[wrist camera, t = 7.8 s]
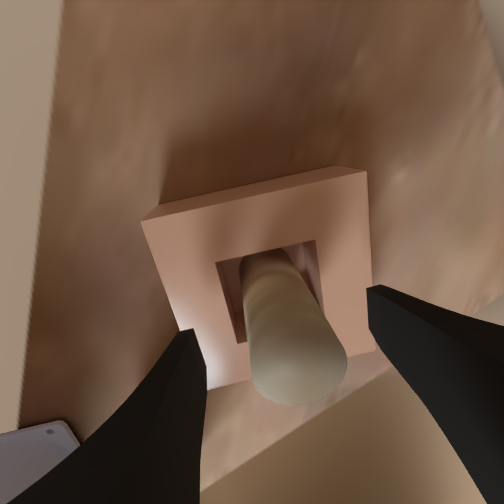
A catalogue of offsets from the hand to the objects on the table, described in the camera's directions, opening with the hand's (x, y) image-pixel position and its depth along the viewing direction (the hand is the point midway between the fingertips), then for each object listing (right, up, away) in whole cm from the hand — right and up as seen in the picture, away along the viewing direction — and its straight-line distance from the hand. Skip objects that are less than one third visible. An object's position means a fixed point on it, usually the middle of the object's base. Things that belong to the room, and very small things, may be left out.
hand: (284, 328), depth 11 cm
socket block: (-1, +2, +6) cm, 6 cm away
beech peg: (0, +2, +5) cm, 6 cm away
